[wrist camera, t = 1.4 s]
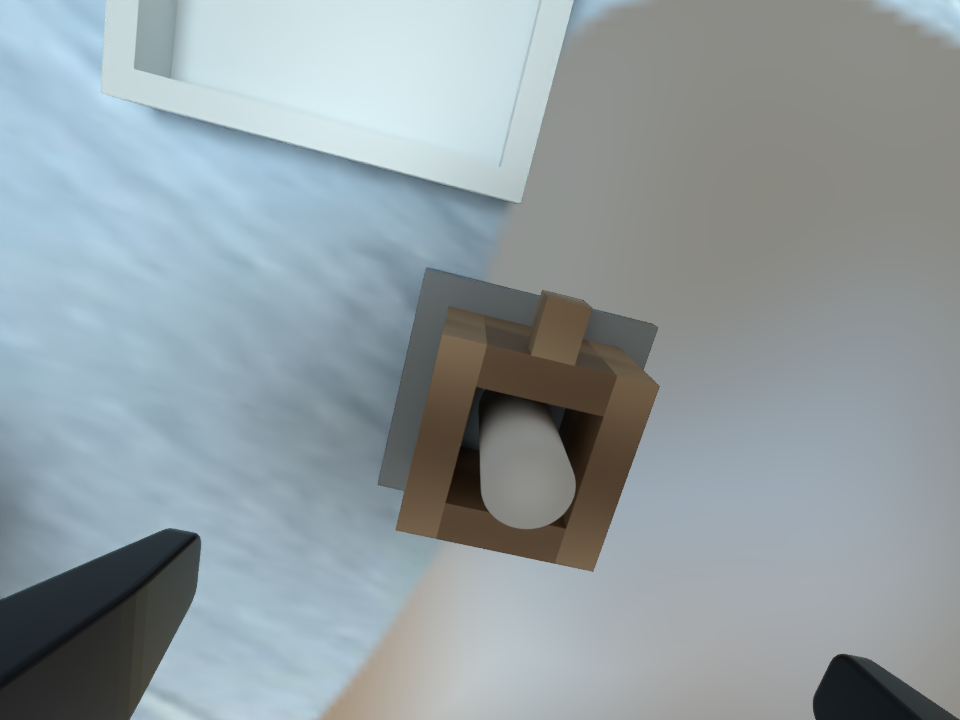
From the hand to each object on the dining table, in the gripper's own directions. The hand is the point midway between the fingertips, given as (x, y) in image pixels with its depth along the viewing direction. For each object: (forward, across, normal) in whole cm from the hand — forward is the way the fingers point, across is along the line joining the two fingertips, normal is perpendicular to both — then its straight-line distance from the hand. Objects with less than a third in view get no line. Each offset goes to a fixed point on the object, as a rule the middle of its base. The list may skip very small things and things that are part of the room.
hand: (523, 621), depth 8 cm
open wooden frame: (+12, -1, +1) cm, 12 cm away
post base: (+12, -1, +1) cm, 12 cm away
